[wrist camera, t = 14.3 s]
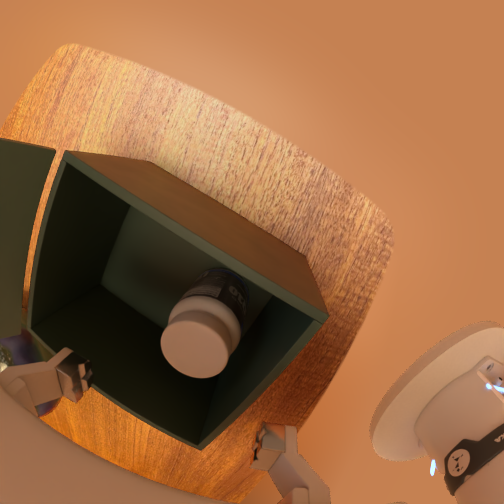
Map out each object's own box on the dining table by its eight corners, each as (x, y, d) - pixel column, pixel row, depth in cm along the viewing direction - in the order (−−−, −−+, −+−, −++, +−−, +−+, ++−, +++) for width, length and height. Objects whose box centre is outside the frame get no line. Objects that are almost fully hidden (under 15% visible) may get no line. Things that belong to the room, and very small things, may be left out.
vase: (64, 299, 25) (-18, 354, 12) (94, 399, 28) (47, 461, 15) (1, 282, 26) (-61, 314, 13) (28, 368, 29) (-17, 410, 16)
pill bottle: (254, 316, 22) (242, 383, 14) (200, 321, 23) (168, 383, 15) (244, 263, 21) (225, 312, 13) (188, 270, 22) (143, 317, 14)
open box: (98, 283, 24) (26, 329, 13) (149, 161, 21) (64, 149, 10) (225, 366, 24) (201, 451, 14) (305, 256, 21) (330, 316, 11)
